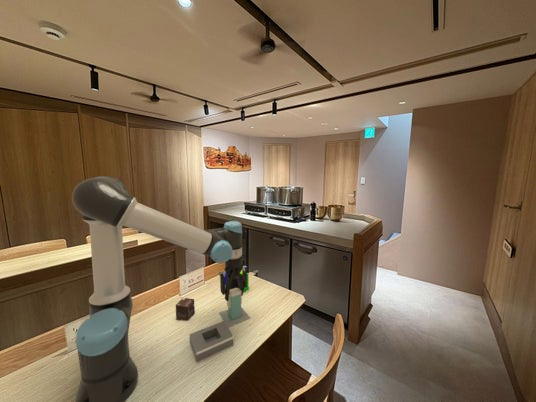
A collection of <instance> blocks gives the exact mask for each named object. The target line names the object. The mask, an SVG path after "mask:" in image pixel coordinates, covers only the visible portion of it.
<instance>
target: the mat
mask: <svg viewBox="0 0 536 402" xmlns="http://www.w3.org/2000/svg"><path fill="white" fill-rule="evenodd" d="M218 314H219V316H220V317H221V319H222V321H224V322H225V324H226V325H227V327H228V328H230V327H233V326H236V325H238V324H241V323H243V322H245V321H247V320H250V319H251V317H250V315H248V313H247V312H246V311H245V309H244V308H243V307H242V306H241V316H240V317H238V318H235V319H233V320H232V319H231V318H230V316H229V315H228V309H225V310H223V311H220V312H218Z"/></svg>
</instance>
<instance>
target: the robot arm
mask: <svg viewBox="0 0 536 402" xmlns="http://www.w3.org/2000/svg"><path fill="white" fill-rule="evenodd" d="M71 202H72V205H73V206H74V209H75V210H77V212H79V214H81V216H82V221H84V222H85V223H87V224H88V227H89V237H90V240H89V241H90V251H91V252H90V253H91V265H92V277H93V278H92V279H93V293H92V294H91V296H90V297H89V298H88V306H89V317H88V318H85V319H84V321H83V322H81V324H80V326H79V327H78V329H77V331H76V336H75V337H76V338H75V345H76V349H77V356H78V362H79V363H78V364H79V369H80V377H81V380H80V383H79V387H78V389H77V393H76V396H75V402H125V401H126V400H127V399H128V398H129V397H130V396H131V394H132V393H133V392H134V390H136V389H135V388H136V387H137V384H138V381H139V370H138V367H137V365H136V364H135V362H134V361H133V359H132V357H131V355H130V345H129V330H130V323H131V316H132V311H133V305H134V304H133V303H134V302H133V297H132V295H131V288H130V287H129V286H128V285H126V278H125V264H124V263H125V262H124V261H125V260H124V257H125V256H124V241H123V227H126V228H129V229H132V230H134V231H138V232H139V233H140V232H141V233H143V234H146V235H149V236H151V237H154V238H157V239H160V240H163V241H164V242H168V243H170V244H174V245H176V246H179V247H181V248H185V249H188V250H190V251H192V252H196V253H198V254H201V255H204V256H206V257H209V258H211V260H213V261H214V262H215V263H218V264H223V263H225V265H224V266H225V267H224V270H223V271H219V272H218V275H219V278H220V279H219V281H220V285H219V286H220V292H221V294H222V296H224V299H225V301H226V306H227V308H228V307H229V308H231V294H230V293H229V291H230V286H231V282H232V279H233V277H235V276H236V278H237V282H238V285H239V288H237V289H238V290H239V291H240V294H241V297H242V296H243V295H244V293H243V291H244V288H246V287H247V273H248V270H249V267H248V266H247V265H243V226H242V223H241V222H239V221H236V220H233V221H226V222H225V223H224V225H223V227H219V228H212V229H210V228H209V229H201V228H198V227H196V226H194V225H192V224H189V223H187V222H184V221H182V220H180V219H178V218H175V217H172V216H170V215H168V214H166V213H163V212H162V211H159V210H156V209H154V208H151V207H150V206H146V205H145V204H142V203H139V202H138V201H137V198H136V197H135V196H132V195H130V194H129V193H128V190H127V188H126V186H125V184H124V183H122V182H121V181H120V180H118V179H117V178H115V177H112V176H104V175H103V176H96V177H92V178H87V179H84V180H83V181H81V182H79V183H78V184H77V185H76V186H75V187H74V188H73V190H72V193H71ZM241 270H242V280H241V275H240V272H241ZM225 273H226V274H227V281H226V286H225V278H224V277H225ZM242 304H243V303H242V301H241V305H242Z"/></svg>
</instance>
